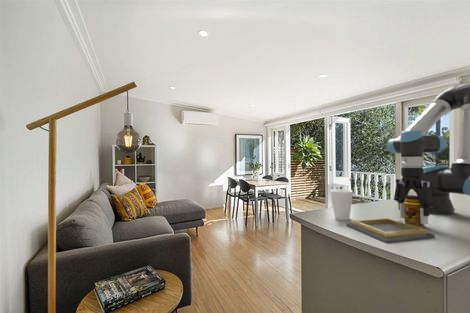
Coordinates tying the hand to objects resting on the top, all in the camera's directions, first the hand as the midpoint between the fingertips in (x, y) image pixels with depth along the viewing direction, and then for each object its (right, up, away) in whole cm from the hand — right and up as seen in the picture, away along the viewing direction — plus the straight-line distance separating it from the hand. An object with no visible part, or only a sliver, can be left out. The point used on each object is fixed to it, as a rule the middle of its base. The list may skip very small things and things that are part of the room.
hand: (413, 220), depth 98 cm
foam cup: (-25, -2, +11) cm, 27 cm away
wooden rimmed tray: (-17, -2, -8) cm, 19 cm away
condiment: (0, -2, 0) cm, 2 cm away
